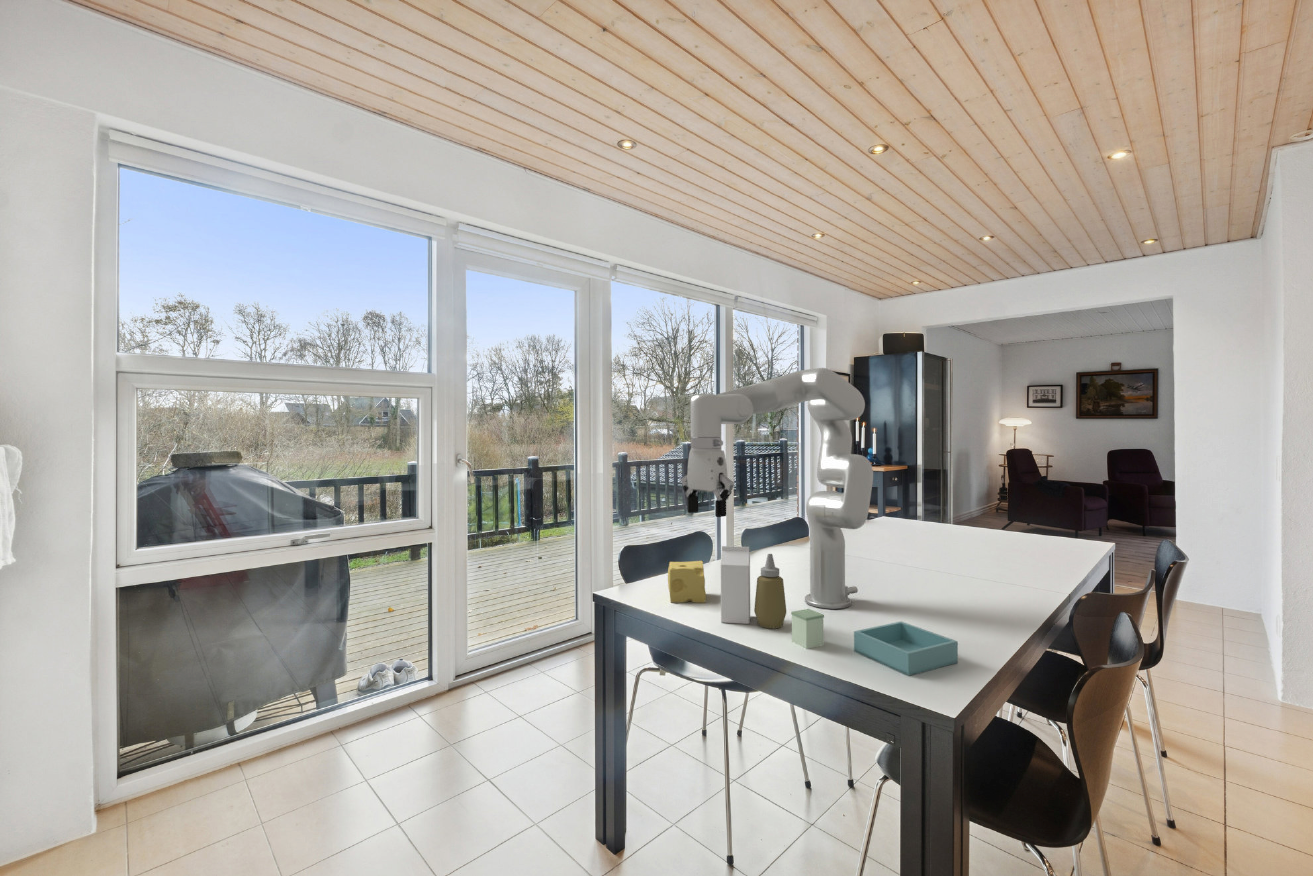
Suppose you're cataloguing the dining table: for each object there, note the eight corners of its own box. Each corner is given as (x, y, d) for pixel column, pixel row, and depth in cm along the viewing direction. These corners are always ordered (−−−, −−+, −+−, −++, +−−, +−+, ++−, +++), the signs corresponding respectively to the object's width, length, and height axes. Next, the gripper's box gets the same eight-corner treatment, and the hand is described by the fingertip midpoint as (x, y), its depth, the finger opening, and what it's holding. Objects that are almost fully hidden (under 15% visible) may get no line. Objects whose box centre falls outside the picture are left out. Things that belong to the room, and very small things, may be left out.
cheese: (705, 603, 168) (705, 568, 168) (668, 603, 168) (667, 568, 168) (703, 593, 178) (703, 560, 178) (667, 593, 178) (667, 560, 178)
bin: (901, 640, 137) (901, 621, 137) (957, 662, 124) (957, 641, 124) (854, 651, 131) (854, 631, 130) (908, 676, 117) (908, 653, 117)
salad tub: (808, 638, 139) (808, 608, 139) (824, 645, 135) (824, 614, 135) (791, 641, 137) (791, 611, 137) (806, 649, 132) (806, 618, 132)
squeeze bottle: (752, 620, 153) (751, 550, 152) (783, 620, 152) (783, 550, 152) (756, 630, 144) (756, 557, 144) (789, 630, 144) (789, 557, 144)
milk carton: (749, 624, 149) (748, 549, 149) (721, 623, 151) (720, 548, 150) (750, 615, 156) (749, 544, 156) (723, 614, 158) (722, 543, 157)
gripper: (742, 444, 140) (743, 516, 141) (693, 444, 154) (693, 509, 154) (720, 445, 135) (721, 520, 136) (671, 444, 149) (671, 512, 149)
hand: (706, 514), depth 145 cm, fingers open, 9 cm apart
